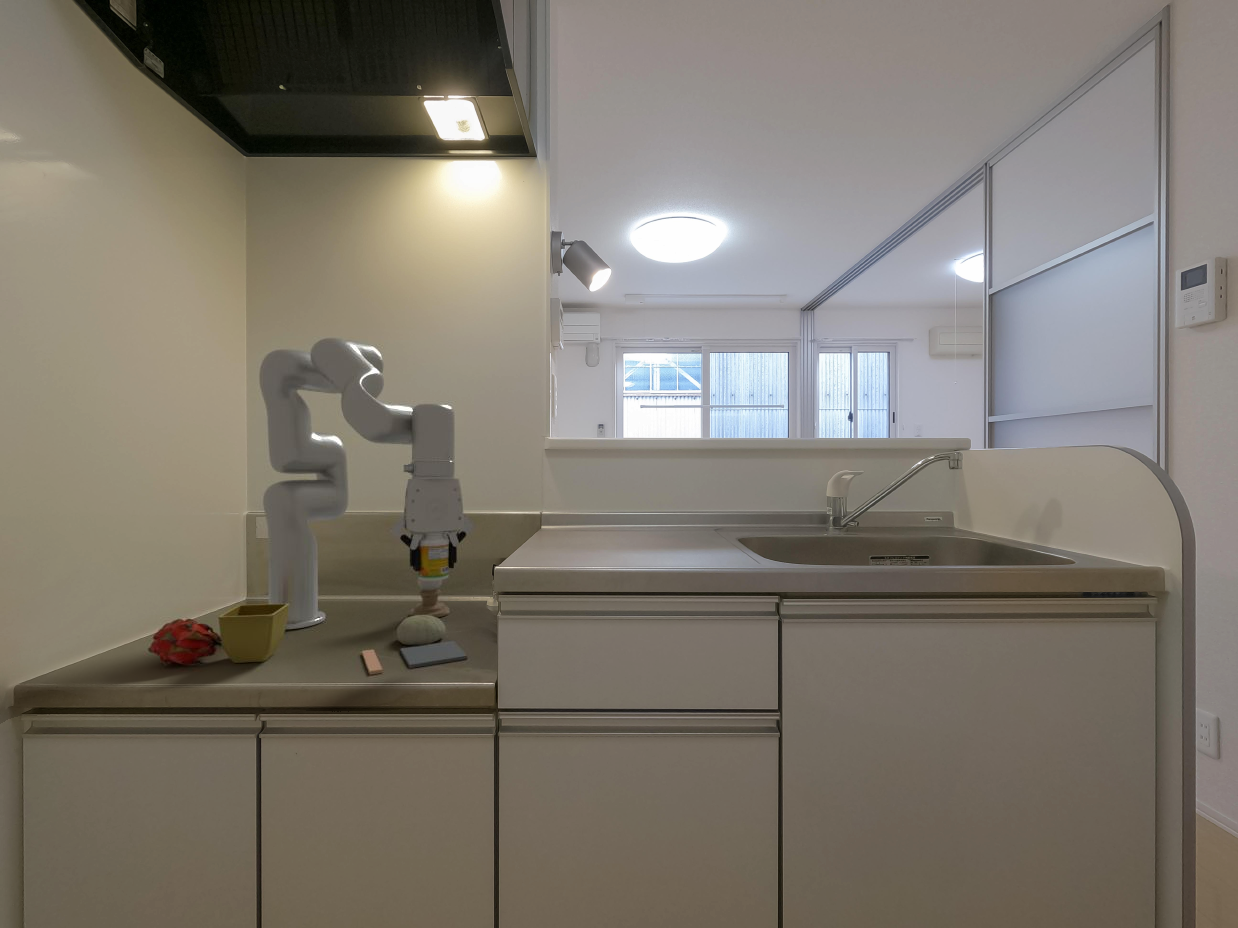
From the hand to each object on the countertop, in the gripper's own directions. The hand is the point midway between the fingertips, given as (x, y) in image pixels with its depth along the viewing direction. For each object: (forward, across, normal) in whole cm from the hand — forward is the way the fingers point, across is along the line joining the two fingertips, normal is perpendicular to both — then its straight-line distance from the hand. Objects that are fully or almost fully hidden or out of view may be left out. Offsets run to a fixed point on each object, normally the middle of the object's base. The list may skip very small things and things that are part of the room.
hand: (433, 567), depth 109 cm
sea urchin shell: (+17, 0, +11) cm, 20 cm away
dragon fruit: (+16, -39, +17) cm, 46 cm away
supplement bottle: (+2, 0, 0) cm, 2 cm away
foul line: (+16, -10, +1) cm, 19 cm away
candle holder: (+16, +5, +30) cm, 35 cm away
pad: (+16, 0, 0) cm, 16 cm away
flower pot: (+16, -29, +14) cm, 36 cm away
